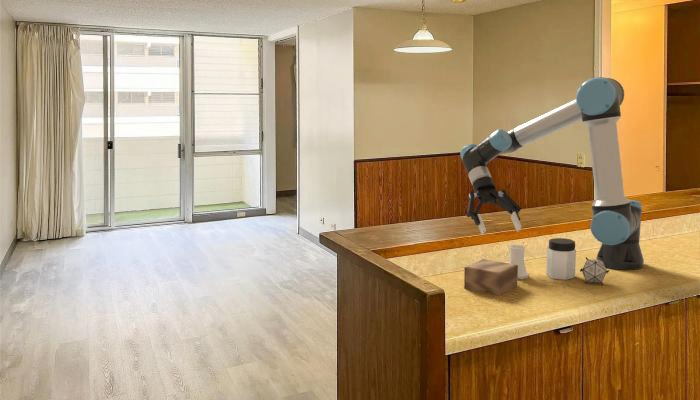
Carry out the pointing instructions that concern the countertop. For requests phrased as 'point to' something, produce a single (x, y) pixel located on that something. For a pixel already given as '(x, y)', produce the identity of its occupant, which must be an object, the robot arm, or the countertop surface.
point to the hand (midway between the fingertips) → (501, 230)
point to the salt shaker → (518, 260)
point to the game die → (594, 270)
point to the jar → (561, 259)
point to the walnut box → (491, 277)
